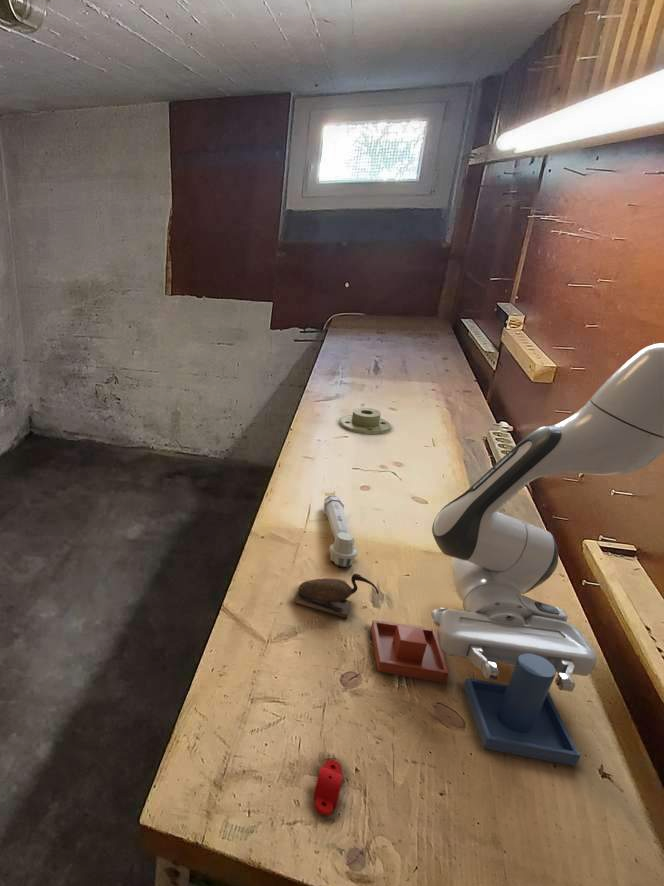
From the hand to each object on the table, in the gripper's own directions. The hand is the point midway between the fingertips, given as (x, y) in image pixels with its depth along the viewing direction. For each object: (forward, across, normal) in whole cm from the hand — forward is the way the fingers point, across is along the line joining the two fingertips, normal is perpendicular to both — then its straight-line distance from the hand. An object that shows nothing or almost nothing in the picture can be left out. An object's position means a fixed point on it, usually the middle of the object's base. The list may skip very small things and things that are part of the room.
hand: (529, 681), depth 80 cm
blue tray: (+1, 0, +8) cm, 8 cm away
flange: (-116, -9, +8) cm, 117 cm away
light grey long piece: (-46, -22, +8) cm, 51 cm away
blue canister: (0, 0, +7) cm, 7 cm away
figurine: (-20, -24, +8) cm, 33 cm away
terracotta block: (-10, -13, +7) cm, 18 cm away
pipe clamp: (+18, -27, +8) cm, 33 cm away
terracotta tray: (-10, -13, +8) cm, 18 cm away
